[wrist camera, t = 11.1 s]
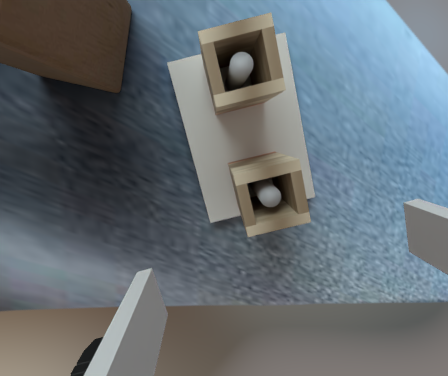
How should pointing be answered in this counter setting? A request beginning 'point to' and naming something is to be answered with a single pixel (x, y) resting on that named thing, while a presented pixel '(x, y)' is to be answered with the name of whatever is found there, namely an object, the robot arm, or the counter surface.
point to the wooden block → (67, 39)
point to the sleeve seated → (253, 45)
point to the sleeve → (283, 180)
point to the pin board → (238, 130)
